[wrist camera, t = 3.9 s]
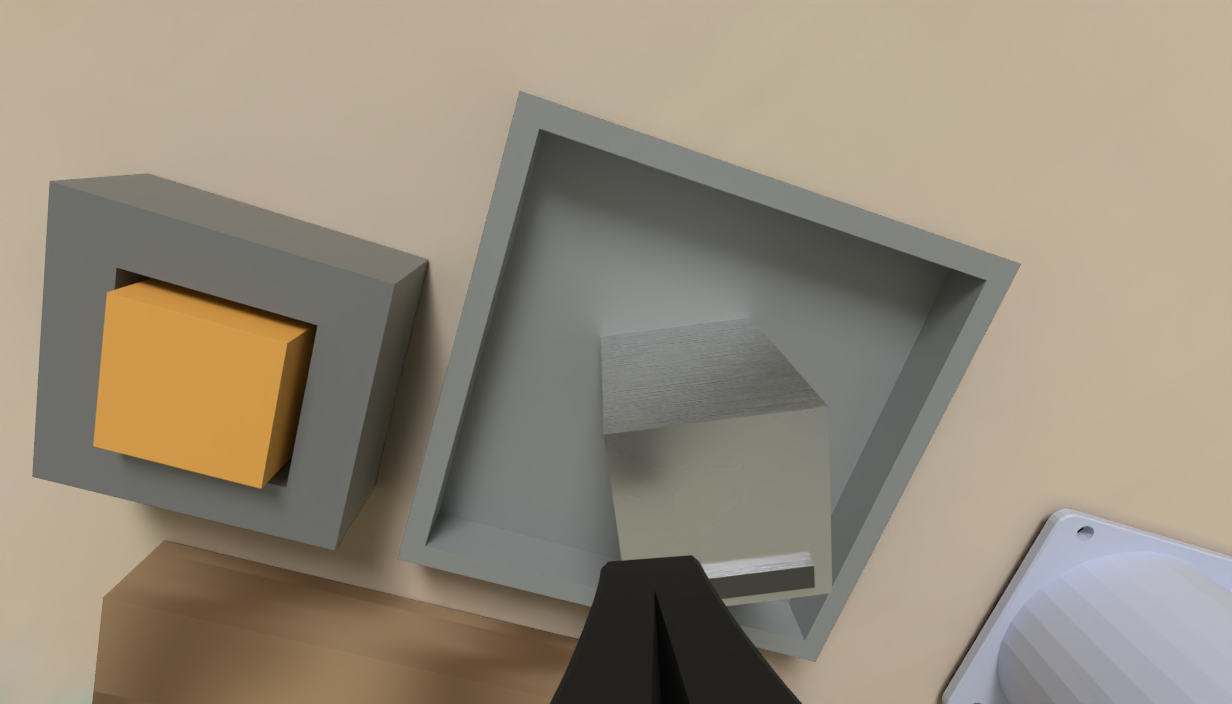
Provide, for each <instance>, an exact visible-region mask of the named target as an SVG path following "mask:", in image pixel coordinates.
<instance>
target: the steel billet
mask: <svg viewBox="0 0 1232 704" xmlns="http://www.w3.org/2000/svg"><path fill="white" fill-rule="evenodd" d="M601 363H602V393H603V422H604V439H605V446H606V453H607V460H608V467H609V474H610V481H611V488H612V495H613V502H614V509H615V517H616V524H617V531H618V538H619V545H620V552H621V559H622V560H635V559H648V558H661V557H675V556H688V555H692V556H694V557H695V558H696V559H697V560H698V561H699V562H700V563H701V565H702V567H703V569H704V571H705V573H706V575H707V576H708V578H709V580H710V582H711V583H712V585H713V587H714V588H715V590H716V591H717V593H718V594H719V596H720V598H721V599H722V601H723V602H724V604H725V605H726V606H732V605H740V604H749V603H757V602H765V601H773V600H781V599H789V598H797V597H805V596H813V595H821V594H830V593H832V554H831V505H830V457H829V408H828V405H827V404H826V403H825V402H824V401H823V400H822V398H821V397H820V396H819V395H818V394H817V393H816V392H815V390H814V389H813V388H812V387H811V386H810V385H809V384H808V382H807V381H806V380H805V379H804V378H803V377H802V376H801V374H800V373H799V372H798V371H797V370H796V369H795V368H794V366H793V365H792V364H791V363H790V362H789V361H788V360H787V359H786V357H785V356H784V355H783V354H782V353H781V352H780V351H779V349H778V348H777V347H776V346H775V345H774V344H773V343H772V341H771V340H770V339H769V338H768V337H767V336H766V335H765V333H764V332H763V331H762V330H761V329H760V328H759V327H758V325H757V324H756V323H755V322H754V321H753V320H752V319H751V318H743V319H735V320H727V321H719V322H711V323H704V324H696V325H688V326H680V327H672V328H664V329H656V330H648V331H641V332H633V333H625V334H617V335H609V336H601Z"/></svg>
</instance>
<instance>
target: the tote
mask: <svg viewBox="0 0 1232 704" xmlns="http://www.w3.org/2000/svg"><path fill="white" fill-rule="evenodd" d="M1020 265H1021V264H1020V263H1017V262H1014V261H1011V260H1008V259H1005V258H1002V257H999V256H997V255H994V254H991V253H988V252H985V251H982V250H979V249H976V248H973V247H970V246H968V245H965V244H962V243H959V242H956V241H953V240H950V239H947V238H944V237H942V236H939V235H936V234H933V233H930V232H927V231H924V230H921V229H918V228H915V227H913V226H910V225H907V224H904V223H901V222H898V221H895V220H892V219H889V218H886V217H884V216H881V215H878V214H875V213H872V212H869V211H866V210H863V209H860V208H858V207H855V206H852V205H849V204H846V203H843V202H840V201H837V200H834V199H831V198H829V197H826V196H823V195H820V194H817V193H814V192H811V191H808V190H805V189H803V188H800V187H797V186H794V185H791V184H788V183H785V182H782V181H779V180H776V179H774V178H771V177H768V176H765V175H762V174H759V173H756V172H753V171H750V170H748V169H745V168H742V167H739V166H736V165H733V164H730V163H727V162H724V161H721V160H719V159H716V158H713V157H710V156H707V155H704V154H701V153H698V152H695V151H693V150H690V149H687V148H684V147H681V146H678V145H675V144H672V143H669V142H666V141H664V140H661V139H658V138H655V137H652V136H649V135H646V134H643V133H640V132H637V131H635V130H632V129H629V128H626V127H623V126H620V125H617V124H614V123H611V122H609V121H606V120H603V119H600V118H597V117H594V116H591V115H588V114H585V113H582V112H580V111H577V110H574V109H571V108H568V107H565V106H562V105H559V104H556V103H554V102H551V101H548V100H545V99H542V98H539V97H536V96H533V95H530V94H527V93H525V92H522V91H520V92H519V96H518V99H517V103H516V107H515V111H514V115H513V119H512V123H511V126H510V130H509V134H508V138H507V142H506V146H505V149H504V153H503V157H502V161H501V165H500V169H499V172H498V176H497V180H496V184H495V188H494V192H493V195H492V199H491V203H490V207H489V211H488V215H487V218H486V222H485V226H484V230H483V234H482V238H481V242H480V245H479V249H478V253H477V257H476V261H475V265H474V268H473V272H472V276H471V280H470V284H469V288H468V291H467V295H466V299H465V303H464V307H463V311H462V314H461V318H460V322H459V326H458V330H457V334H456V337H455V341H454V345H453V349H452V353H451V357H450V361H449V364H448V368H447V372H446V376H445V380H444V384H443V387H442V391H441V395H440V399H439V403H438V407H437V410H436V414H435V418H434V422H433V426H432V430H431V433H430V437H429V441H428V445H427V449H426V453H425V456H424V460H423V464H422V468H421V472H420V476H419V480H418V483H417V487H416V491H415V495H414V499H413V503H412V506H411V510H410V514H409V518H408V522H407V526H406V529H405V533H404V537H403V541H402V545H401V549H400V552H399V556H398V559H399V560H403V561H407V562H411V563H415V564H419V565H423V566H427V567H431V568H435V569H439V570H443V571H447V572H451V573H456V574H460V575H464V576H468V577H472V578H476V579H480V580H484V581H488V582H492V583H496V584H500V585H504V586H508V587H512V588H517V589H521V590H525V591H529V592H533V593H537V594H541V595H545V596H549V597H553V598H557V599H561V600H565V601H569V602H574V603H578V604H582V605H586V606H590V607H591V606H592V603H593V600H594V597H595V594H596V590H597V586H598V582H599V578H600V572H601V568H602V567H603V566H604V565H605V564H606V563H607V562H609V561H622V559H621V552H620V545H619V538H618V531H617V524H616V517H615V509H614V502H613V495H612V488H611V481H610V474H609V467H608V460H607V453H606V446H605V439H604V422H603V393H602V363H601V336H609V335H617V334H625V333H633V332H641V331H648V330H656V329H664V328H672V327H680V326H688V325H696V324H704V323H711V322H719V321H727V320H735V319H743V318H751V319H752V320H753V321H754V322H755V323H756V324H757V325H758V327H759V328H760V329H761V330H762V331H763V332H764V333H765V335H766V336H767V337H768V338H769V339H770V340H771V341H772V343H773V344H774V345H775V346H776V347H777V348H778V349H779V351H780V352H781V353H782V354H783V355H784V356H785V357H786V359H787V360H788V361H789V362H790V363H791V364H792V365H793V366H794V368H795V369H796V370H797V371H798V372H799V373H800V374H801V376H802V377H803V378H804V379H805V380H806V381H807V382H808V384H809V385H810V386H811V387H812V388H813V389H814V390H815V392H816V393H817V394H818V395H819V396H820V397H821V398H822V400H823V401H824V402H825V403H826V404H827V405H828V408H829V457H830V505H831V554H832V593H830V594H821V595H813V596H805V597H797V598H789V599H781V600H773V601H765V602H757V603H749V604H740V605H732V606H726V607H727V608H728V610H729V611H730V613H731V614H732V615H733V617H734V618H735V620H736V621H737V623H738V624H739V625H740V627H741V628H742V630H743V631H744V632H745V634H746V635H747V636H748V638H749V639H750V640H751V641H752V643H753V644H754V645H755V647H757V648H761V649H765V650H769V651H773V652H777V653H781V654H785V655H789V656H793V657H797V658H801V659H806V660H810V661H814V662H816V660H817V658H818V656H819V654H820V652H821V650H822V649H823V647H824V645H825V643H826V641H827V639H828V637H829V635H830V633H831V631H832V629H833V627H834V625H835V623H836V621H837V619H838V618H839V616H840V614H841V612H842V610H843V608H844V606H845V604H846V602H847V600H848V598H849V596H850V594H851V592H852V590H853V589H854V587H855V585H856V583H857V581H858V579H859V577H860V575H861V573H862V571H863V569H864V567H865V565H866V563H867V561H868V559H869V558H870V556H871V554H872V552H873V550H874V548H875V546H876V544H877V542H878V540H879V538H880V536H881V534H882V532H883V530H884V529H885V527H886V525H887V523H888V521H889V519H890V517H891V515H892V513H893V511H894V509H895V507H896V505H897V503H898V501H899V499H900V498H901V496H902V494H903V492H904V490H905V488H906V486H907V484H908V482H909V480H910V478H911V476H912V474H913V472H914V470H915V469H916V467H917V465H918V463H919V461H920V459H921V457H922V455H923V453H924V451H925V449H926V447H927V445H928V443H929V441H930V440H931V438H932V436H933V434H934V432H935V430H936V428H937V426H938V424H939V422H940V420H941V418H942V416H943V414H944V412H945V410H946V409H947V407H948V405H949V403H950V401H951V399H952V397H953V395H954V393H955V391H956V389H957V387H958V385H959V383H960V381H961V380H962V378H963V376H964V374H965V372H966V370H967V368H968V366H969V364H970V362H971V360H972V358H973V356H974V354H975V352H976V350H977V349H978V347H979V345H980V343H981V341H982V339H983V337H984V335H985V333H986V331H987V329H988V327H989V325H990V323H991V321H992V320H993V318H994V316H995V314H996V312H997V310H998V308H999V306H1000V304H1001V302H1002V300H1003V298H1004V296H1005V294H1006V292H1007V290H1008V289H1009V287H1010V285H1011V283H1012V281H1013V279H1014V277H1015V275H1016V273H1017V271H1018V269H1019V267H1020Z"/></svg>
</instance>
